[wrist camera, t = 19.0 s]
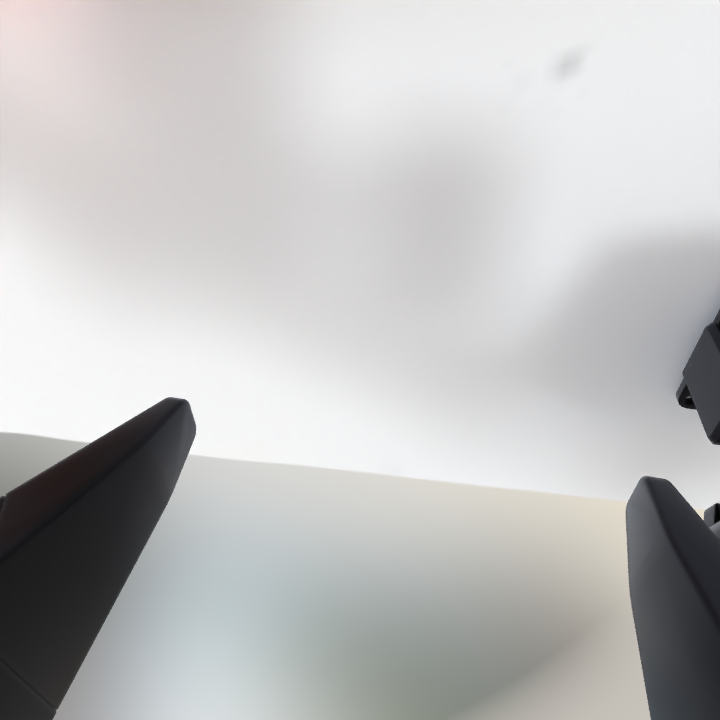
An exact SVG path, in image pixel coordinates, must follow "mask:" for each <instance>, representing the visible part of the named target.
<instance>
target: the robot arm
mask: <svg viewBox="0 0 720 720" xmlns="http://www.w3.org/2000/svg"><path fill="white" fill-rule="evenodd" d="M683 376H684V379H683V381H682V383H681V385H680V387H679V389H678V391H677V393H676V397H677V400H678V402H679V405H681V406H682V407H685V408H689V409H696V410H697V412H698V414H699V417H700V419H701V422H702V424H703V427H704V429H705V432H706V434H707V437H708V438H709V440H710V441H711V442H712V444H716V445H720V310H719V312H718V314H717V316H716V318H715V320H714V322H713V323H711V324H710V325H708V326H707V327H706V328H705V329H704V331H703V333H702V335H701V337H700V339H699V341H698V343H697V345H696V347H695V349H694V351H693V353H692V355H691V357H690V359H689V360H688V362H687V364H686V366H685V368H684V370H683ZM688 396H692V397H691V398H686V397H688ZM195 435H196V424H195V421H194V417H193V414H192V411H191V407H190V404H189V402H188V401H187V400H185V399H179V398H173V397H169V398H166V399H164V400H162V401H160V402H159V403H157V404H155V405H154V406H152V407H150V408H149V409H147V410H145V411H144V412H142V413H140V414H139V415H137V416H135V417H134V418H132V419H130V420H129V421H127V422H125V423H124V424H122V425H120V426H119V427H117V428H115V429H114V430H112V431H110V432H109V433H107V434H105V435H104V436H102V437H100V438H99V439H97V440H95V441H94V442H92V443H90V444H89V445H87V446H85V447H84V448H82V449H80V450H78V451H77V452H75V453H74V454H72V455H70V456H68V457H67V458H65V459H63V460H62V461H60V462H58V463H57V464H55V465H54V466H52V467H50V468H48V469H47V470H45V471H43V472H42V473H40V474H38V475H37V476H35V477H33V478H32V479H30V480H28V481H27V482H25V483H23V484H22V485H20V486H18V487H17V488H15V489H13V490H12V491H10V492H8V493H7V494H6V496H1V497H0V720H52V719H53V718H54V716H55V714H56V710H57V709H58V708H59V706H60V704H61V702H62V700H63V698H64V696H65V695H66V693H67V691H68V689H69V687H70V685H71V683H72V682H73V680H74V678H75V676H76V674H77V672H78V670H79V668H80V667H81V664H82V663H83V661H84V659H85V657H86V655H87V653H88V651H89V650H90V648H91V646H92V644H93V642H94V640H95V638H96V637H97V634H98V633H99V631H100V629H101V627H102V625H103V623H104V622H105V620H106V618H107V616H108V614H109V612H110V610H111V609H112V607H113V605H114V603H115V601H116V599H117V597H118V595H119V593H120V592H121V590H122V588H123V586H124V584H125V582H126V580H127V578H128V577H129V575H130V573H131V571H132V569H133V567H134V565H135V564H136V562H137V560H138V558H139V556H140V554H141V552H142V550H143V549H144V546H145V545H146V543H147V541H148V539H149V537H150V535H151V534H152V532H153V530H154V528H155V526H156V524H157V522H158V521H159V518H160V517H161V515H162V513H163V511H164V509H165V507H166V505H167V503H168V501H169V499H170V497H171V495H172V493H173V490H174V488H175V485H176V483H177V480H178V478H179V475H180V473H181V470H182V468H183V465H184V463H185V460H186V458H187V455H188V453H189V451H190V448H191V446H192V443H193V441H194V438H195ZM626 531H627V552H628V573H629V589H630V598H631V604H632V611H633V617H634V623H635V629H636V634H637V641H638V646H639V652H640V658H641V664H642V669H643V676H644V681H645V687H646V693H647V699H648V705H649V711H650V716H651V720H720V504H719V503H716V504H714V505H713V506H711V507H710V508H708V509H707V510H705V512H704V521H703V520H702V519H701V517H700V516H699V515H698V514H697V513H696V512H695V510H694V509H693V508H692V507H691V506H690V505H689V503H688V502H687V501H686V500H685V499H684V497H683V496H682V495H681V494H680V493H679V492H678V490H677V489H676V488H675V487H674V486H673V484H672V483H671V482H669V481H668V480H666V479H662V478H655V477H649V476H644V477H642V478H641V479H640V480H639V482H638V484H637V486H636V488H635V490H634V491H633V493H632V495H631V497H630V499H629V501H628V503H627V507H626Z"/></svg>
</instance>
